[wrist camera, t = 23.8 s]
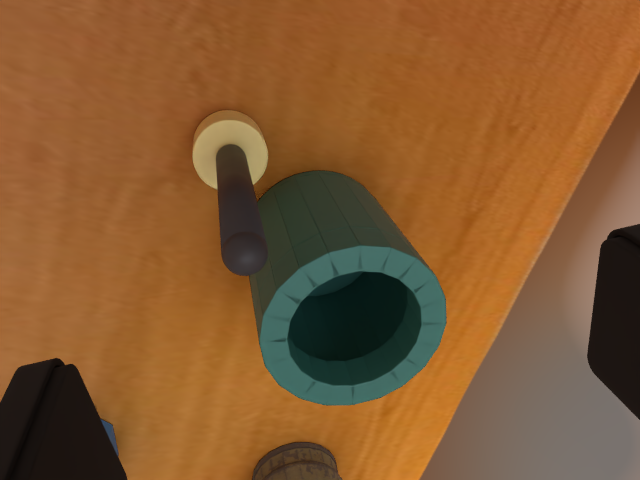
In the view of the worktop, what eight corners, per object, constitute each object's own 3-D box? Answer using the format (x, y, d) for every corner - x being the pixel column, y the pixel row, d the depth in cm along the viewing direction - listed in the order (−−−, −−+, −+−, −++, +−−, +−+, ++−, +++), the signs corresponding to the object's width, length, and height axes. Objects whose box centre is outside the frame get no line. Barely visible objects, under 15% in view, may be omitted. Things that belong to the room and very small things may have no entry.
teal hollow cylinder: (230, 186, 39) (241, 271, 28) (375, 157, 40) (443, 227, 29) (259, 309, 44) (279, 424, 33) (387, 280, 45) (448, 381, 34)
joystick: (185, 117, 36) (169, 222, 20) (256, 103, 37) (295, 196, 21) (202, 184, 39) (201, 325, 23) (269, 170, 39) (314, 299, 23)
